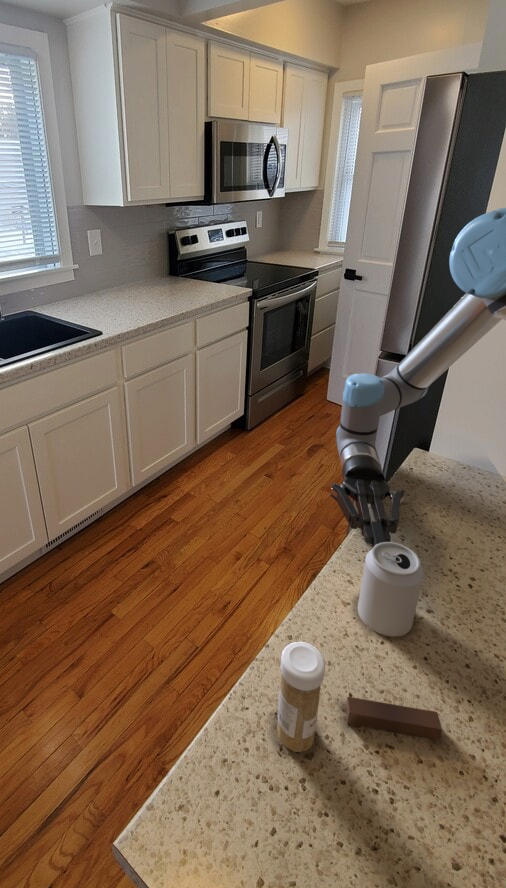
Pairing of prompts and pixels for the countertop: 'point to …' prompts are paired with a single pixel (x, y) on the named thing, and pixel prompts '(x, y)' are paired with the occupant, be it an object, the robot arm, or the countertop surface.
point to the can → (390, 588)
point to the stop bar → (393, 718)
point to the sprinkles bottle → (299, 695)
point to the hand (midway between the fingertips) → (381, 556)
